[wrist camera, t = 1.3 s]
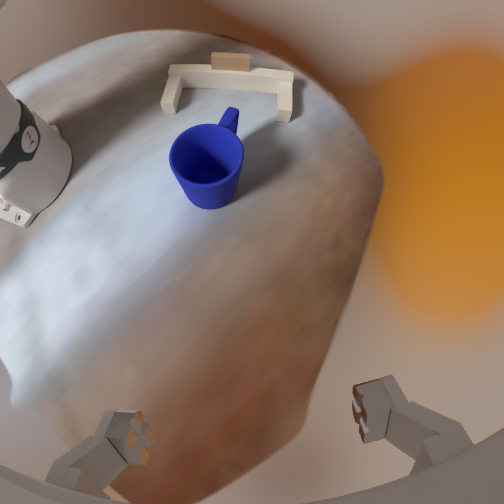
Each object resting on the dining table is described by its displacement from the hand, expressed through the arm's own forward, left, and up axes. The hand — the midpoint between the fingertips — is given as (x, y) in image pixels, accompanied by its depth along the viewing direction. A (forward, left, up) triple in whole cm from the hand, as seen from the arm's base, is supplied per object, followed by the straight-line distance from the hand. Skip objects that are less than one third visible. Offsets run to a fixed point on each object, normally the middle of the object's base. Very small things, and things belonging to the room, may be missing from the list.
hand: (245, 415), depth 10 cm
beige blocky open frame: (-4, +37, -28) cm, 47 cm away
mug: (-4, +22, -28) cm, 36 cm away
